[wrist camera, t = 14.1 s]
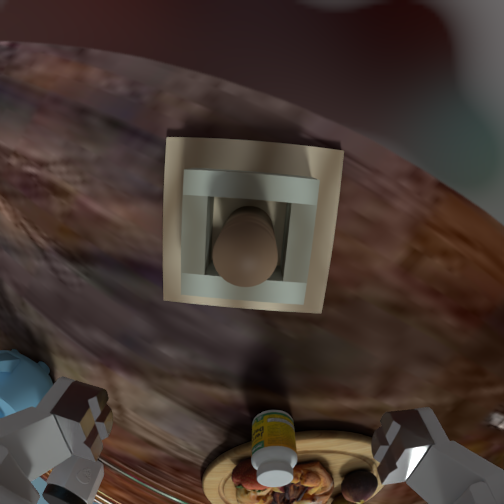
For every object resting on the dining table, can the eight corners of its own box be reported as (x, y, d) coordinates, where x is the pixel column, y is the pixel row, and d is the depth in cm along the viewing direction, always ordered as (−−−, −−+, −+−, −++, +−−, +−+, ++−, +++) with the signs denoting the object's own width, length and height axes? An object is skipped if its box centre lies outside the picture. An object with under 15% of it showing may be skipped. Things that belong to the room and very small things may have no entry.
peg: (275, 207, 29) (280, 227, 21) (271, 254, 30) (274, 289, 22) (226, 204, 29) (213, 222, 21) (223, 250, 30) (211, 284, 22)
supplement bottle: (285, 436, 38) (289, 492, 29) (247, 430, 38) (244, 487, 29) (299, 411, 37) (307, 469, 27) (258, 404, 36) (258, 464, 27)
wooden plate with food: (166, 448, 40) (154, 490, 32) (381, 396, 36) (399, 442, 28) (246, 523, 49) (245, 553, 41) (395, 488, 45) (404, 519, 37)
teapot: (27, 320, 34) (-22, 364, 23) (87, 397, 37) (54, 452, 27) (-12, 350, 37) (-50, 387, 26) (38, 413, 40) (9, 456, 29)
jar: (113, 469, 43) (94, 519, 31) (95, 477, 45) (77, 521, 33) (73, 440, 41) (47, 489, 30) (58, 451, 43) (35, 494, 31)
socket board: (341, 150, 28) (356, 149, 23) (320, 309, 32) (328, 333, 28) (169, 137, 28) (152, 134, 23) (165, 297, 32) (152, 318, 28)
